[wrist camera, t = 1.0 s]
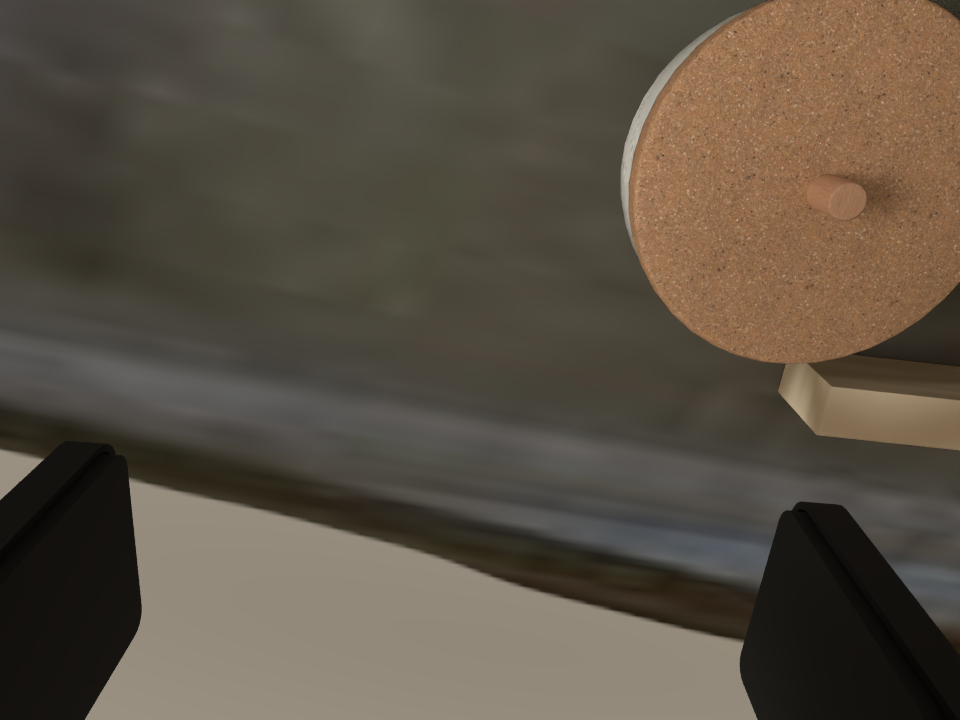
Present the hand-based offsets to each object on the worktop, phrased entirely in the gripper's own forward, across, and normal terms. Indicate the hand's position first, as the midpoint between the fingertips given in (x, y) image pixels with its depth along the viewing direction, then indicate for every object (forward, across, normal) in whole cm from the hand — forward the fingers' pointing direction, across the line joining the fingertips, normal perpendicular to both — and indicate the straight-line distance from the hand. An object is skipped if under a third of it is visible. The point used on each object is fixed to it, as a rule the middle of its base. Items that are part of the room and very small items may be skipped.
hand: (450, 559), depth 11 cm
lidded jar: (+21, -10, -4) cm, 23 cm away
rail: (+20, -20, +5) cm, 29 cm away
